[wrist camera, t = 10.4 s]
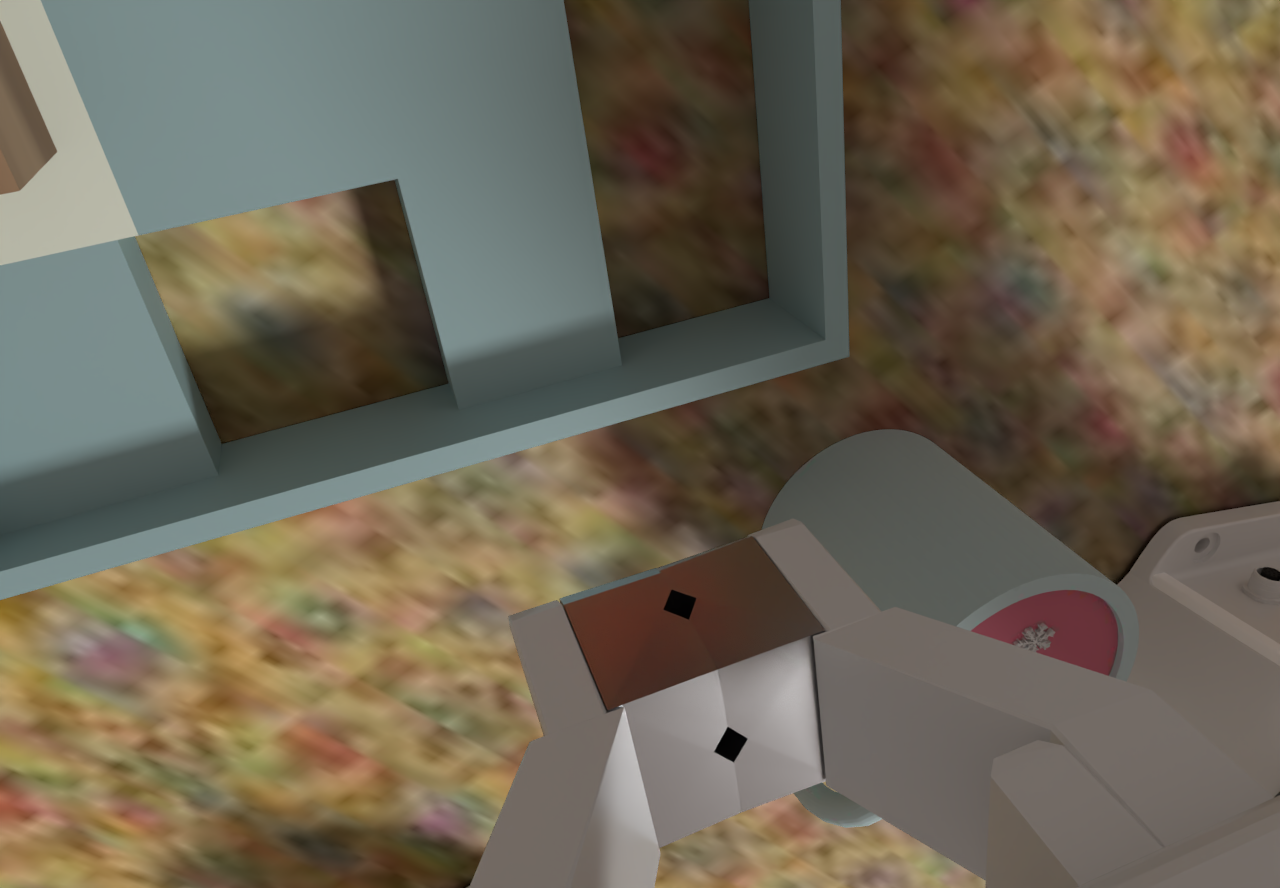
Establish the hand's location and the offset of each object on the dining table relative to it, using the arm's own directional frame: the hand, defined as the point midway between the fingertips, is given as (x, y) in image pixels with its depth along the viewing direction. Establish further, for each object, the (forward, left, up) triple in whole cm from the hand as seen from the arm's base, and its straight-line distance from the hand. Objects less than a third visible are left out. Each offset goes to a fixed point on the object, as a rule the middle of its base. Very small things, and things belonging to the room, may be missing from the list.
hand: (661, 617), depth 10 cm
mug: (-13, +19, -21) cm, 32 cm away
